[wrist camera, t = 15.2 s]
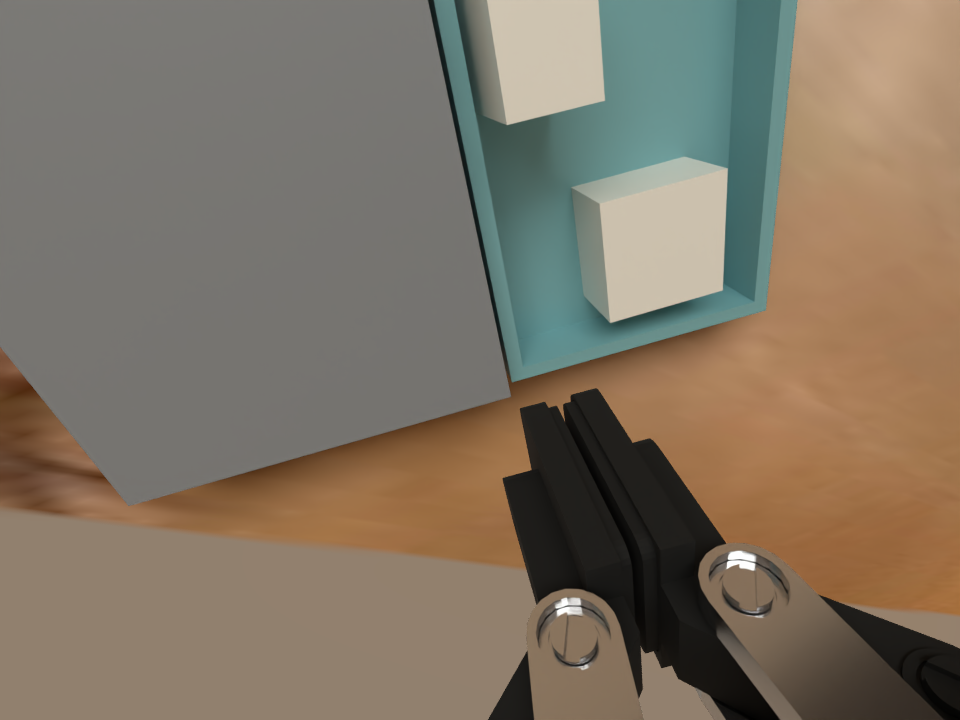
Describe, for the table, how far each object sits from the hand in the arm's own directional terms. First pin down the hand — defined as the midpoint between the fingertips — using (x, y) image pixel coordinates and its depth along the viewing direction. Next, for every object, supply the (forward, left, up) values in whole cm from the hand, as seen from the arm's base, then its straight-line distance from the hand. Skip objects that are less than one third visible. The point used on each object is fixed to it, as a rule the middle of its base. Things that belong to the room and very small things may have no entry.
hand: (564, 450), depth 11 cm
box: (-7, -4, -13) cm, 15 cm away
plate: (+8, -4, -13) cm, 16 cm away
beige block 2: (-8, 0, -10) cm, 12 cm away
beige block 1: (-2, -8, -10) cm, 13 cm away
